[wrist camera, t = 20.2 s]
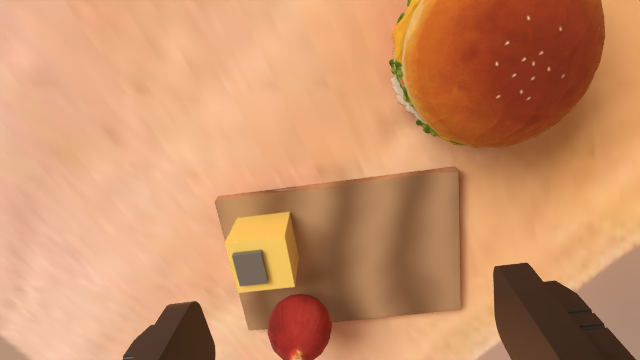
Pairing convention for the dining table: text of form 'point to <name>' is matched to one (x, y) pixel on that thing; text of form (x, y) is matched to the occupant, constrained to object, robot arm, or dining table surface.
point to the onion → (299, 327)
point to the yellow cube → (263, 252)
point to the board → (364, 244)
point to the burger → (494, 65)
